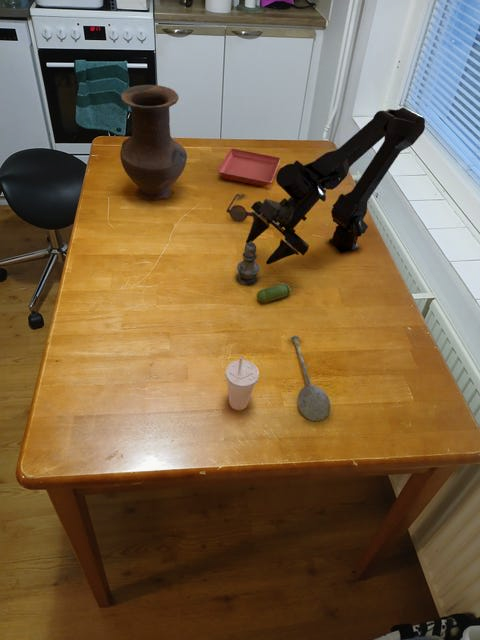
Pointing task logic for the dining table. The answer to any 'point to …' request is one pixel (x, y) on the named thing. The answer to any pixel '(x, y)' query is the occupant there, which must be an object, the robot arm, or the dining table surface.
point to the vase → (152, 142)
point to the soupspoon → (311, 395)
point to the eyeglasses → (239, 211)
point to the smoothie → (241, 382)
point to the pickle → (273, 292)
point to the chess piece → (248, 265)
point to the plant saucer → (249, 167)
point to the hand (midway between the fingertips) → (256, 253)
